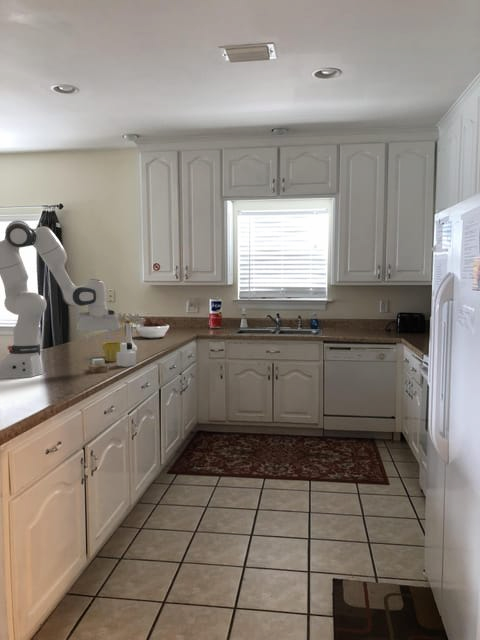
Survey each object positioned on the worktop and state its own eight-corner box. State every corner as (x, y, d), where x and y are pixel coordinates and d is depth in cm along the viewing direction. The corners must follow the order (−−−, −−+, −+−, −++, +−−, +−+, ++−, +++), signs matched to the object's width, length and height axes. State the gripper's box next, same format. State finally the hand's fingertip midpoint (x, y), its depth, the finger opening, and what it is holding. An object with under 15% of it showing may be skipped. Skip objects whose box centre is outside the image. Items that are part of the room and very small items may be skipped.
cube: (94, 370, 253) (94, 360, 253) (92, 368, 258) (91, 359, 257) (104, 369, 256) (104, 359, 256) (101, 368, 260) (101, 358, 260)
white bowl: (137, 336, 399) (137, 316, 397) (169, 335, 401) (169, 316, 400) (134, 340, 374) (134, 319, 373) (168, 339, 377) (168, 319, 375)
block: (92, 373, 245) (92, 367, 245) (89, 370, 251) (88, 364, 251) (107, 371, 249) (107, 365, 249) (103, 369, 255) (103, 363, 255)
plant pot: (115, 358, 290) (115, 341, 289) (125, 360, 283) (125, 343, 282) (99, 360, 283) (99, 342, 282) (109, 362, 275) (108, 344, 275)
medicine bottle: (127, 363, 272) (127, 341, 271) (136, 365, 268) (135, 342, 267) (116, 365, 267) (116, 342, 266) (125, 367, 262) (124, 344, 261)
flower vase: (143, 356, 299) (143, 313, 296) (112, 355, 299) (111, 313, 297) (147, 352, 312) (147, 312, 309) (117, 352, 312) (117, 311, 309)
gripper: (77, 313, 246) (78, 341, 248) (119, 311, 257) (120, 338, 258) (74, 312, 252) (75, 339, 253) (115, 310, 262) (116, 336, 264)
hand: (98, 339), depth 256 cm, fingers open, 8 cm apart
